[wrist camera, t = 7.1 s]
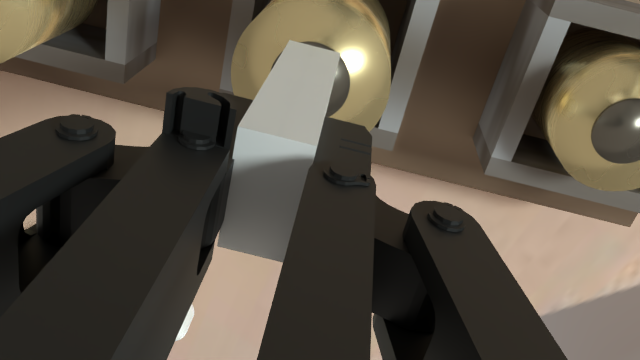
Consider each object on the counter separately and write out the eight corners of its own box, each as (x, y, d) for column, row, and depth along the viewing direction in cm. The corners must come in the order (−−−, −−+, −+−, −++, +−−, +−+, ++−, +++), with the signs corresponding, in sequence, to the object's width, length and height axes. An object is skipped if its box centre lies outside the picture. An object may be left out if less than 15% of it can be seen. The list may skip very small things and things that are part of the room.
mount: (13, -227, 25) (-123, -265, 18) (724, -44, 26) (844, -16, 19) (19, 41, 31) (-83, 87, 24) (602, 187, 31) (661, 272, 25)
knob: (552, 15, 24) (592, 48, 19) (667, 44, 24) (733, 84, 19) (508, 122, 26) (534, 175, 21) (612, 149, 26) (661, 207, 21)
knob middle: (275, -43, 21) (243, -20, 16) (406, -9, 21) (411, 23, 16) (252, 84, 23) (219, 135, 18) (371, 113, 23) (367, 172, 18)
